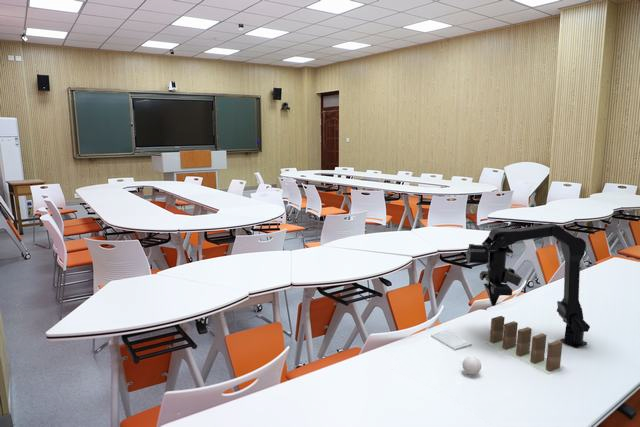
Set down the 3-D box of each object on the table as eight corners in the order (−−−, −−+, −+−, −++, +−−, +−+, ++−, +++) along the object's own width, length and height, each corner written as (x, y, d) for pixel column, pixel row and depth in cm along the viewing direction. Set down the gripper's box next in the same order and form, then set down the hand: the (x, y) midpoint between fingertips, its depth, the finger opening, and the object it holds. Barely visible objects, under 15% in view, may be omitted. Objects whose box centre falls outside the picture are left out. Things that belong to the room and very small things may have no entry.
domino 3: (515, 354, 153) (517, 330, 152) (525, 351, 156) (527, 327, 154) (519, 356, 152) (522, 331, 150) (529, 353, 154) (531, 328, 153)
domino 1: (489, 341, 163) (491, 318, 161) (499, 338, 165) (500, 315, 164) (493, 343, 161) (495, 320, 160) (502, 340, 164) (504, 317, 162)
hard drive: (430, 334, 167) (455, 348, 156) (447, 330, 171) (472, 343, 160) (430, 338, 167) (454, 352, 157) (447, 334, 171) (472, 347, 160)
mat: (501, 337, 167) (501, 336, 167) (565, 368, 145) (565, 367, 145) (484, 343, 163) (484, 342, 162) (547, 375, 141) (548, 374, 141)
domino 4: (530, 361, 149) (532, 336, 147) (539, 358, 151) (542, 333, 149) (534, 364, 147) (536, 338, 146) (544, 360, 150) (546, 335, 148)
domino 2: (502, 348, 158) (504, 324, 156) (511, 344, 160) (513, 321, 159) (506, 350, 157) (508, 325, 155) (515, 346, 159) (517, 322, 157)
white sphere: (483, 373, 142) (484, 357, 141) (475, 380, 138) (476, 363, 137) (461, 364, 147) (462, 348, 146) (452, 371, 144) (453, 354, 143)
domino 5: (545, 369, 144) (548, 343, 142) (555, 365, 146) (557, 339, 145) (550, 371, 142) (552, 345, 141) (559, 367, 145) (562, 341, 143)
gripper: (530, 272, 150) (525, 316, 153) (511, 257, 168) (507, 297, 171) (495, 271, 151) (492, 315, 154) (480, 256, 169) (477, 295, 172)
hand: (493, 305), depth 163 cm, fingers closed
